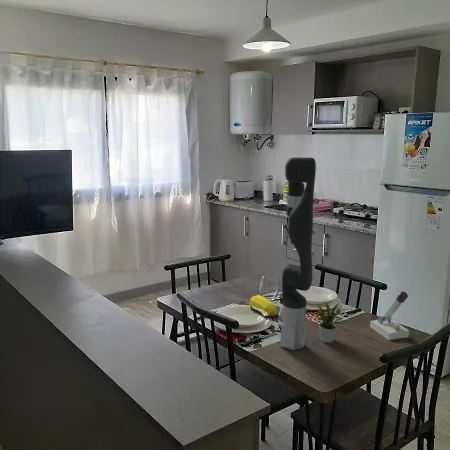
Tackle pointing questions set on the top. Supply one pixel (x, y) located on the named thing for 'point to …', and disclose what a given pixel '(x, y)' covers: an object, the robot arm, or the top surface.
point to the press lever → (395, 306)
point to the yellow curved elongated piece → (263, 304)
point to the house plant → (328, 323)
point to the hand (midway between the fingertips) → (293, 243)
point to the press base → (389, 329)
